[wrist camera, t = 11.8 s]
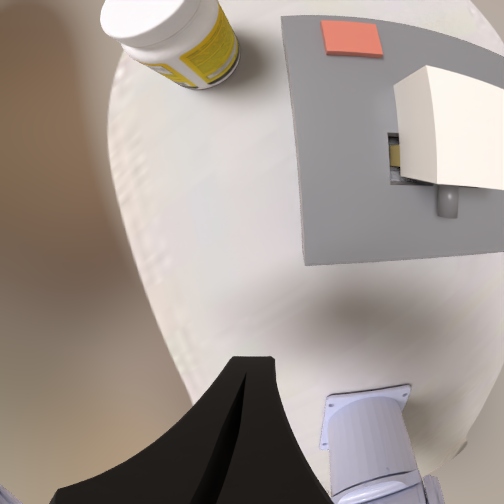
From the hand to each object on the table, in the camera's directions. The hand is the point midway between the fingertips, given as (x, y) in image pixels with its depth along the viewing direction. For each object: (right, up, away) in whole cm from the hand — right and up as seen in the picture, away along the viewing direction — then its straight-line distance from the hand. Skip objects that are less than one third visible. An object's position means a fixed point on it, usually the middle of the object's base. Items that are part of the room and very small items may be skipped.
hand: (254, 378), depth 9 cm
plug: (+10, +11, +5) cm, 16 cm away
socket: (+10, +11, +5) cm, 16 cm away
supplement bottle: (-3, +16, +6) cm, 18 cm away
